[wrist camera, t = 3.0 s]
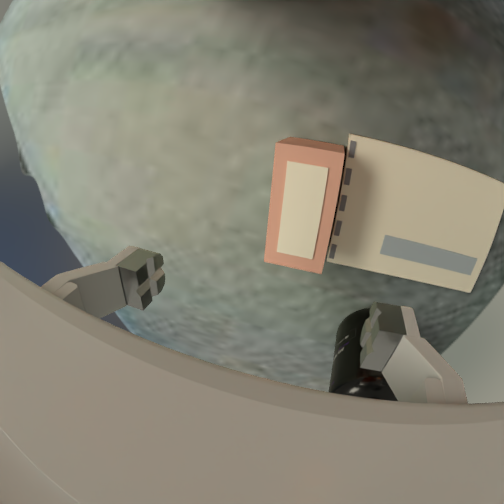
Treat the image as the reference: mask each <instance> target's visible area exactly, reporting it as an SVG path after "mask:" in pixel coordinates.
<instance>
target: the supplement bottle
mask: <svg viewBox="0 0 504 504" xmlns="http://www.w3.org/2000/svg"><path fill="white" fill-rule="evenodd" d="M369 310H370V308H369V309H363V310H359V311H357V312H354V313H352V314H351V315H349V316H348V317H346V318H345V319H344V320H343V321H342V323H341V324H340V326H339V328H338V331H337V335H336V343H335V351H334V359H333V366H332V373H331V380H330V387H329V392H330V393H336V394H342V395H349V396H356V397H363V398H371V399H380V400H389V401H398V400H397V398H396V397H395V395H394V393H393V391H392V390H391V388H390V386H389V384H388V383H387V381H386V379H385V377H384V376H383V374H382V371H376V370H370V369H365V368H360V353H361V351H362V349H363V348H362V346H361V345H360V338H361V332H362V328H363V325H364V323H365V320H366V319H368V318H369V317H370V311H369Z"/></svg>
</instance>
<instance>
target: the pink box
mask: <svg viewBox="0 0 504 504" xmlns="http://www.w3.org/2000/svg"><path fill="white" fill-rule="evenodd" d="M344 156H345V152H344V146H343V145H337V144H332V143H326V142H321V141H315V140H308V139H302V138H295V137H289V138H286V139H284V140H281V141H278V142H276V145H275V156H274V167H273V177H272V188H271V198H270V208H269V218H268V228H267V237H266V247H265V256H264V262H268V263H273V264H277V265H282V266H287V267H291V268H296V269H300V270H305V271H310V272H314V273H319V274H322V270H323V266H324V261H325V257H326V252H327V248H328V243H329V239H330V234H331V229H332V224H333V219H334V214H335V209H336V203H337V198H338V192H339V187H340V181H341V175H342V169H343V162H344Z"/></svg>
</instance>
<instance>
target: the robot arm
mask: <svg viewBox="0 0 504 504" xmlns="http://www.w3.org/2000/svg"><path fill="white" fill-rule="evenodd" d="M163 264H164V263H163V256H162V255H161V254H160V253H156V252H152V251H149V250H145V249H142V248H138V247H134V246H128V247H127V248H126V249H124V250H123V251H122V252H120V253H119V254H117V255H116V256H115V257H113V258H112V259H111V260H109V261H108V262H107V263H106V262H102V263H98V264H94V265H90V266H87V267H83V268H79V269H75V270H72V271H68V272H64V273H61V274H57V275H56V276H55V277H53V278H52V279H51V280H49V281H48V282H47V283H45V284H44V285H43V286H41V287H39V286H37V285H36V284H34V283H33V282H31V281H29V280H28V279H26V278H25V277H23V276H21V275H20V274H18V273H17V272H15V271H14V270H12V269H11V268H9V267H7V266H6V265H5V264H4V263H2V262H0V504H504V402H495V403H475V404H468V402H467V397H466V393H465V388H464V384H463V380H462V378H461V377H460V376H459V375H458V374H457V373H456V372H455V370H454V369H453V368H452V367H451V366H450V365H449V364H448V363H447V362H446V361H445V360H444V359H443V357H442V356H441V355H440V354H439V353H438V352H437V351H436V350H435V349H434V348H433V347H432V346H431V345H430V344H429V343H428V342H427V341H426V340H425V339H424V338H421V337H420V333H419V329H418V325H417V322H416V318H415V314H414V311H413V309H412V308H411V307H405V306H397V305H391V304H385V303H379V302H373V304H372V306H371V308H370V310H369V311H370V317H369V318H368V319H366V320H365V323H364V325H363V328H362V332H361V338H360V345H361V346H362V348H363V349H362V351H361V353H360V368H365V369H370V370H376V371H382V374H383V376H384V377H385V379H386V381H387V383H388V384H389V386H390V388H391V390H392V391H393V393H394V395H395V397H396V398H397V400H398V401H389V400H380V399H371V398H363V397H356V396H349V395H342V394H336V393H330V392H324V391H319V390H314V389H309V388H304V387H299V386H295V385H290V384H286V383H281V382H277V381H273V380H269V379H265V378H261V377H257V376H254V375H250V374H246V373H243V372H239V371H236V370H232V369H229V368H226V367H222V366H219V365H216V364H213V363H210V362H207V361H204V360H201V359H198V358H195V357H192V356H189V355H186V354H183V353H180V352H178V351H175V350H172V349H170V348H167V347H164V346H162V345H159V344H157V343H154V342H151V341H149V340H147V339H144V338H142V337H139V336H137V335H135V334H132V333H130V332H128V331H125V330H123V329H121V328H118V327H116V326H114V325H112V324H110V323H108V322H105V321H103V320H101V319H99V318H102V317H104V316H106V315H108V314H110V313H112V312H114V311H116V310H119V309H121V308H123V307H125V306H127V305H129V306H132V307H135V308H137V309H140V310H144V309H145V308H146V307H147V306H148V305H149V304H150V303H151V302H152V297H153V296H155V295H158V294H159V293H160V292H161V291H162V289H163V286H164V284H165V273H164V271H163V270H162V268H161V267H162V265H163Z"/></svg>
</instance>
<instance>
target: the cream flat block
mask: <svg viewBox="0 0 504 504" xmlns="http://www.w3.org/2000/svg"><path fill="white" fill-rule="evenodd" d="M503 209H504V183H503V182H501V181H499V180H496V179H494V178H492V177H490V176H487V175H485V174H482V173H480V172H478V171H475V170H473V169H470V168H468V167H465V166H462V165H460V164H457V163H454V162H451V161H449V160H446V159H443V158H440V157H437V156H434V155H431V154H428V153H424V152H421V151H418V150H415V149H411V148H408V147H404V146H400V145H397V144H393V143H389V142H385V141H381V140H377V139H373V138H368V137H364V136H359V135H354V134H350V133H349V139H348V146H347V153H346V159H345V166H344V172H343V178H342V184H341V190H340V195H339V201H338V206H337V211H336V216H335V221H334V226H333V231H332V236H331V241H330V245H329V250H328V255H327V262H332V263H336V264H341V265H346V266H350V267H355V268H360V269H364V270H369V271H373V272H378V273H383V274H387V275H392V276H396V277H401V278H406V279H410V280H415V281H419V282H424V283H428V284H433V285H437V286H442V287H446V288H451V289H455V290H460V291H464V292H468V293H470V292H471V290H472V288H473V286H474V284H475V282H476V280H477V278H478V276H479V274H480V271H481V269H482V267H483V264H484V262H485V260H486V257H487V255H488V252H489V250H490V247H491V245H492V242H493V239H494V237H495V234H496V231H497V228H498V225H499V222H500V219H501V216H502V213H503Z"/></svg>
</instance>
